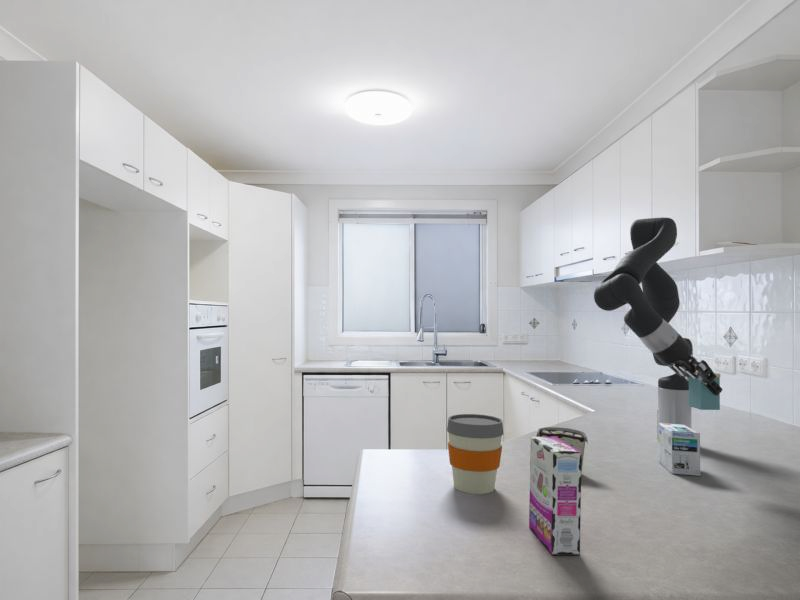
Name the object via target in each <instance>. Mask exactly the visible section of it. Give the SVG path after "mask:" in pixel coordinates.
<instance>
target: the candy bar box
mask: <svg viewBox="0 0 800 600" xmlns="http://www.w3.org/2000/svg"><path fill="white" fill-rule="evenodd" d="M529 459H530V460H529V464H530V465H529V467H530V468H529V469H530V470H529V506H528V507H529V508H528V509H529V512H528V513H529V517H528V518H529V519H528V527H529V528H530V530H531V531H532V532H533V533H534V534H535V536H536V537H537V538H538V539H539V540H540V541H541V543H542V544H543V546H545V547H546V548H547V550H548V551H549V552H550V554H551V556H552V555H553V556H577V555H578V556H579V555H581V513H582V510H581V509H582V508H581V505H582V504H581V503H582V502H581V499H582V473H581V463H582V452H580V451H578V450H576V449H575V448H573V447H571V446H569V445H568V444H566V443H564V442H562V441H561V440H559V439H557V438H555V437H539V436H538V437H536V436H531V437H530V457H529Z"/></svg>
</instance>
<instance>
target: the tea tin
mask: <svg viewBox="0 0 800 600" xmlns="http://www.w3.org/2000/svg"><path fill="white" fill-rule="evenodd" d="M696 373H697V371H696V372H695V373H694V374H696ZM714 374H715V375H716V376H717V377H716V378H715V379H714V381H715V382H716V383H717V384H718V385H719V386H720V385H721V384H720V382H721V381H720V379H721V373H720V372H719V373H717V372H714ZM700 377H701V376H700ZM701 378H702V377H701ZM702 379H703V378H702ZM720 387H721V386H720ZM720 394H721V393H720ZM720 394H719V395H714V394H713V393H712V392H711V391H710V390H709V389H708V388H707V387H706V386H705V385H704V384H703V383H702V382H700V381H699V380H698V379H694V378H693V377H691V376H690V375H689V406H690V407H692V408H694V409H697V410H701V411H705V410H706V411H709V410H710V411H720V410H721V405H720V404H721V395H720Z"/></svg>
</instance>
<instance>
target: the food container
mask: <svg viewBox="0 0 800 600" xmlns="http://www.w3.org/2000/svg"><path fill="white" fill-rule="evenodd" d="M535 437H555V438H557V439H559V440H561V441H562V442H564V443H566V444H568V445H569V446H571V447H573V448H575V449H576V450H578V451H580V452H582V463H581V474H582V472H583V465H584V462H583V461H584V457H585V456H584V455H585V447H586V443H587V445H588V444H589V443H588V442H589V441H588V437H587V434H586V432H584V431H581V430H577V429H574V428H568V427H560V426H558V427H557V426H547V427H540V428H538V430H537V432H536V435H535Z"/></svg>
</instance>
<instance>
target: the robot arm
mask: <svg viewBox="0 0 800 600" xmlns="http://www.w3.org/2000/svg"><path fill="white" fill-rule="evenodd" d="M629 229H630V230H629V233H630V234H629V235H630V242H631V247H632V250H631V251H629V252H628V253H626V254H625V255H624V256H623V257H622V258H621V259H620V261H619V262H618V263H617V265H616V266H615V268H614V269H613V271H611V273H609V274H608V275H607V276H606V277H604V279H603V280H602V281H601V282H599V283H598V284H597V286H596V287H595V289H594V292H593V300H594V302H595V305H596V306H597V307H598V308H599V309H601V310H602V311H607V312H612V311H615V310H617V309H619V308H621V307H623V306H625V305H627V304H628V305H629V306H630V307H631V308H629V310H628V311H627V312H626V313H625V314H624V318H623V321H624V324H626V327H628V328H629V329H630V330H631V331H632V332H633V333H634V334H635V335H636V336H637V337H638V338H639V340H640V342H641V343H642V344H643V345H644V346H645V347H646V348H647V349H648V350H649V351H650V353H652V356H653V360H654V362H655V364H657V365H658V366H661V367H662V366H663V367H668V368H670V369H671V371H673V372H674V374H671V375H667V376H663V377H660V378H658V380H657V402H658V403H657V411H656V413H657V414H656V439H657V441H658V443H659V423H667V424H681V425H685V426H687V427H689V428H691V429H692V426H693V425H692V409H693V407H690V406H689V375H690V376H691V377H693V378H694V379H698V380H699V381H700V382H702V383H703V384H704V385H705V386H706V387H707V388H708V389H709V390H710V391H711V392H712V393H713V394H714V395H719V394H721V393H722V392H723V388H722V387H721V386H719V385H718V384H717V383H716V382H715V381H714V379H715V378H716V377H717V376H716V375H715V374H714V373H715V372H714V371H713V370H712V368H711V367H710V365H709V364H708V363H707V361H706V360H704V359H702V360H700V361H698V359H697V358H695V357H694V356H693V354H694V348H693V343H692V341H691V339H690V338H686V337H682V335H681V334H680V333H678V331H677V330H676V329H675V328H674V327H673V326H672V325H671V324H670V322H671V321H672V319H673V318H674V317H675V315H676V314H677V312H678V310H679V308H680V296H679V295H680V294H679V289H678V285H677V282H675V280H674V279H673V277H672V276H671V275H670V274H669V273H668V272H667V271H666V270H665V269H664V268H662V266H660V265H659V263H658V261H659V260H660V259H662V258H663V257H664V256H665V255H666V254H667V253H668V252H670V251H671V249H673V247H674V246H675V244H676V241H677V236H678V228H677V224H676V221H675V220H674V219H673V218H670V217H664V216H663V217H653V218H652V217H651V218H649V217H647V218H640V219H639V218H638V219H636V220H634V221H633V222H632V223H631V226H630V228H629ZM640 284H641V285H640ZM696 371H697V373H696V374H694V373H695V372H696ZM700 376H701V377H702V378H703V379H702V378H701V377H700ZM692 430H693V429H692Z"/></svg>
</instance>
